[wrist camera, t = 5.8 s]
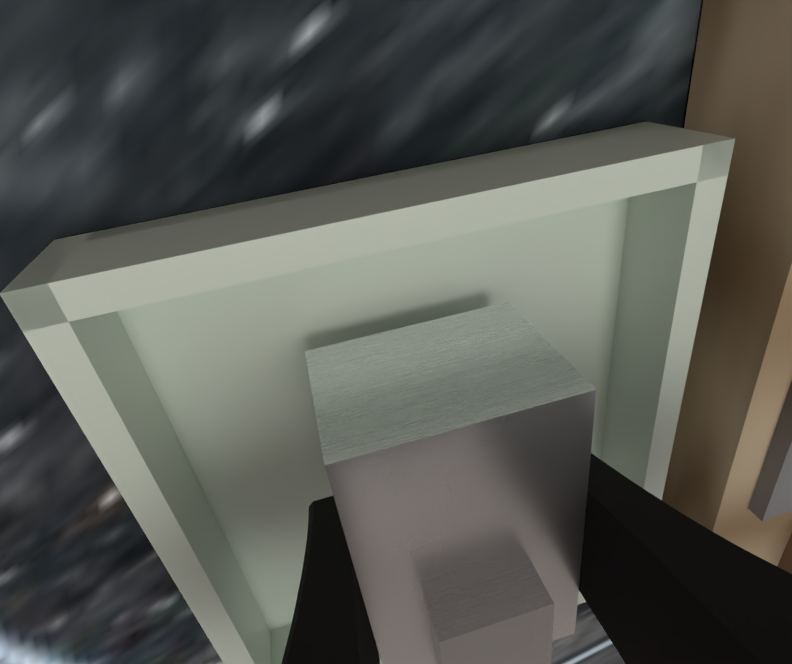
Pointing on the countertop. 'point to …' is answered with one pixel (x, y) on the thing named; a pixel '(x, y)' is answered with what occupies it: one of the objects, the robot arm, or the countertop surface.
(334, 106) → the countertop surface
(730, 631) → the robot arm
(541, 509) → the lever cap
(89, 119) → the countertop surface
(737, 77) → the hand plane
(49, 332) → the parts tray
